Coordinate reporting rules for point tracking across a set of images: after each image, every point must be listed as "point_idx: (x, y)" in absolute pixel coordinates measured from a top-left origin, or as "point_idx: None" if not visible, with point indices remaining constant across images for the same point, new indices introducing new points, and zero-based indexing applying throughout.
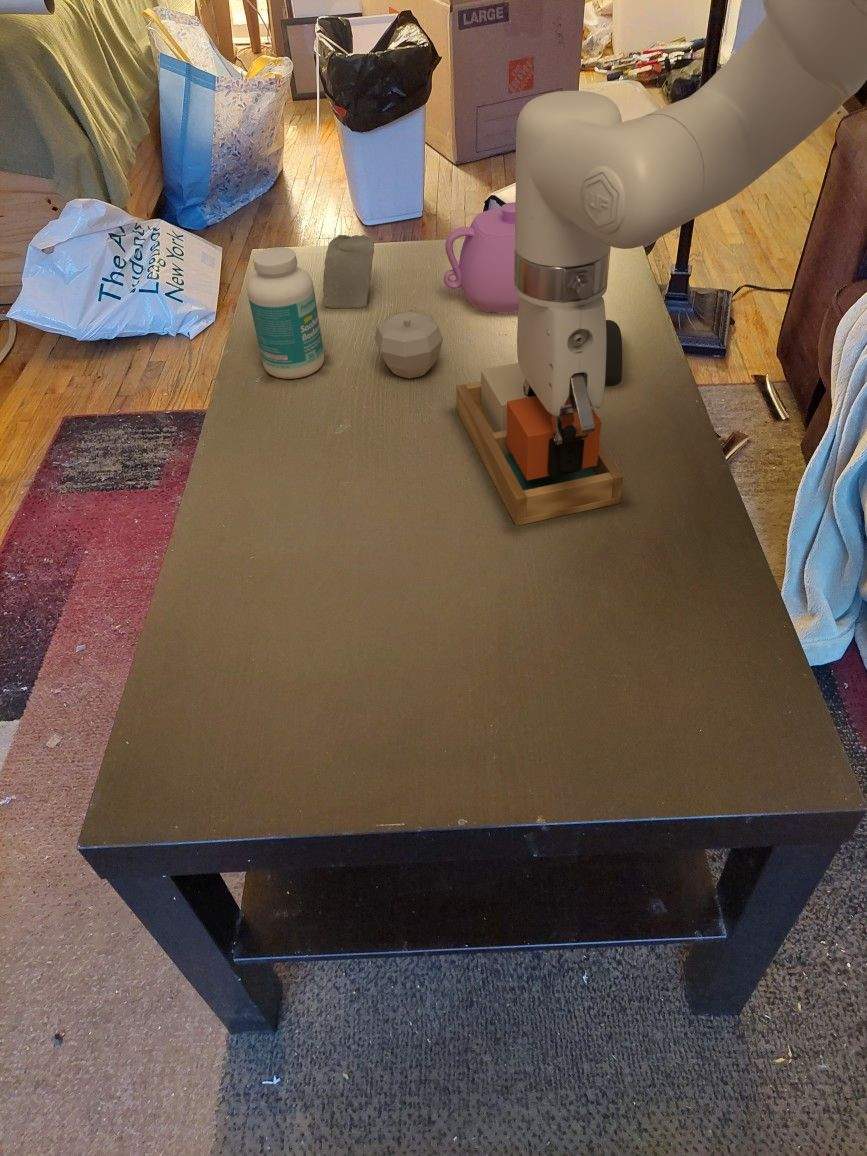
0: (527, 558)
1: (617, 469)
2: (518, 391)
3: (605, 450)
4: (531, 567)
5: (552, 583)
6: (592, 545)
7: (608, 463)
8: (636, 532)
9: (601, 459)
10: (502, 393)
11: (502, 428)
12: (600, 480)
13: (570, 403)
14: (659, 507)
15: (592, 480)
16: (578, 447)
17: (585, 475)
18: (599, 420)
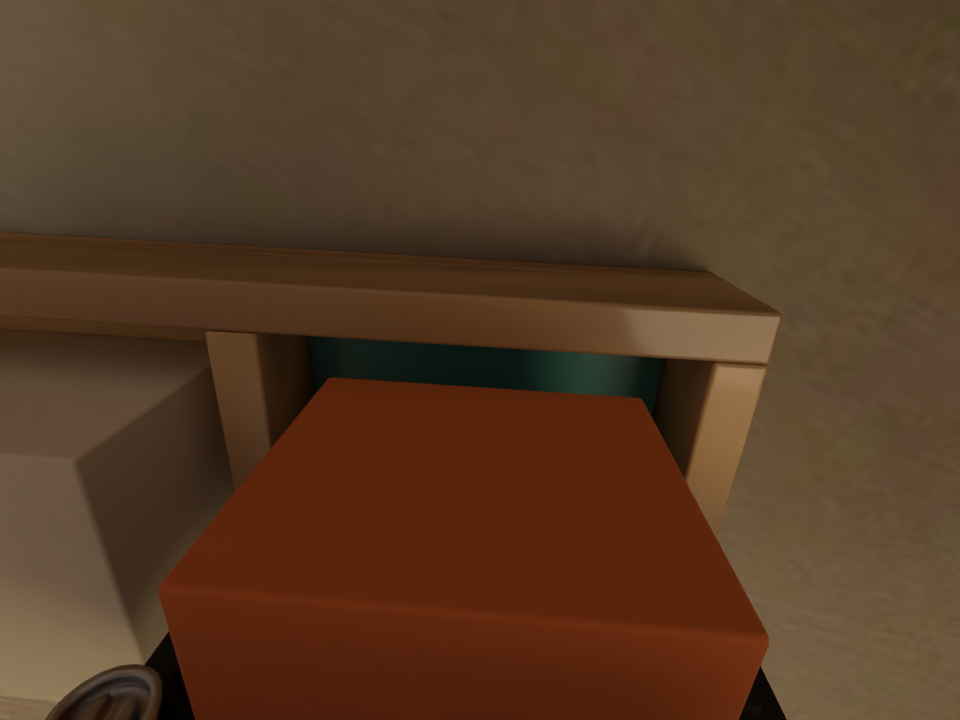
0: (772, 615)
1: (721, 321)
2: (36, 621)
3: (543, 303)
4: (809, 619)
5: (900, 601)
6: (843, 454)
7: (648, 337)
8: (890, 293)
9: (601, 353)
10: (52, 679)
11: None
12: (748, 430)
13: (396, 713)
14: (827, 123)
15: (725, 458)
16: (773, 698)
17: (542, 359)
18: (753, 653)
